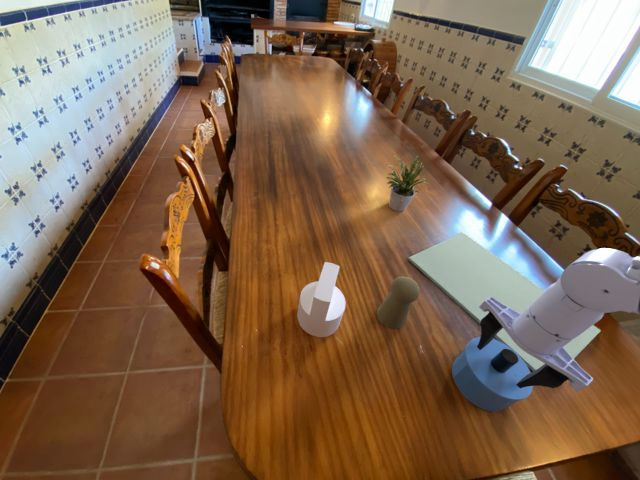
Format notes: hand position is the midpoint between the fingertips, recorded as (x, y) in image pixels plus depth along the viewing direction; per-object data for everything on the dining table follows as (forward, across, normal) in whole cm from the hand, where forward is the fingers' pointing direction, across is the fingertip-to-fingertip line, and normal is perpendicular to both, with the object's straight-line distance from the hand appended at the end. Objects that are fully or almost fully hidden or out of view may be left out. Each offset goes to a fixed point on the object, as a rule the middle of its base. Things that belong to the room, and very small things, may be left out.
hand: (500, 363), depth 49 cm
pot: (+7, 0, 0) cm, 7 cm away
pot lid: (+1, 0, 0) cm, 1 cm away
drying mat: (+7, +10, -22) cm, 25 cm away
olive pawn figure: (+7, +18, +5) cm, 20 cm away
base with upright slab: (+7, +24, +19) cm, 32 cm away
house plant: (+7, +46, -26) cm, 54 cm away
